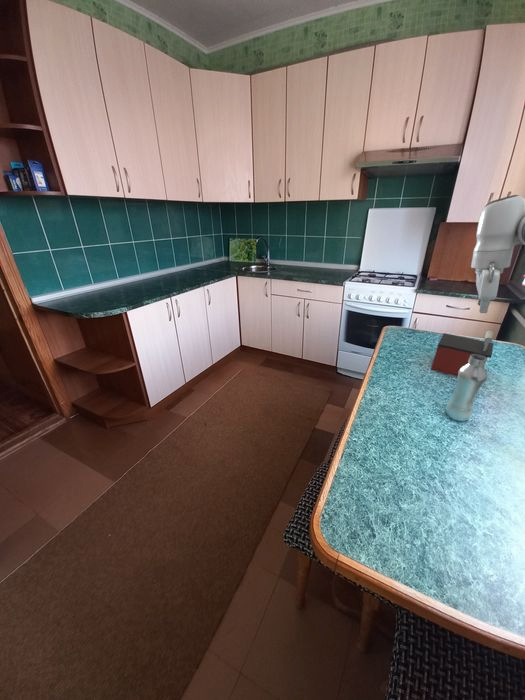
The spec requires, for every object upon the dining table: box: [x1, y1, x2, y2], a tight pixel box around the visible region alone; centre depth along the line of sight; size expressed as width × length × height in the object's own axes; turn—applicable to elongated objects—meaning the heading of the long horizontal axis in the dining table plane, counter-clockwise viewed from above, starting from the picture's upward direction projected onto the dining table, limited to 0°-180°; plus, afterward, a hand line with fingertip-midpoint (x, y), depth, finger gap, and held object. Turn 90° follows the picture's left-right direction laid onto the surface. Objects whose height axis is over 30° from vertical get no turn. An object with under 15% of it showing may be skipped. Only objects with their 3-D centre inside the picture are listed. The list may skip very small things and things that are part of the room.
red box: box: [430, 345, 489, 377], centre depth 107 cm, size 15×12×10 cm
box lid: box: [437, 330, 494, 359], centre depth 103 cm, size 16×12×6 cm
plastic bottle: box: [445, 354, 487, 422], centre depth 81 cm, size 6×7×20 cm
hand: (482, 308), depth 87 cm, fingers open, 8 cm apart
